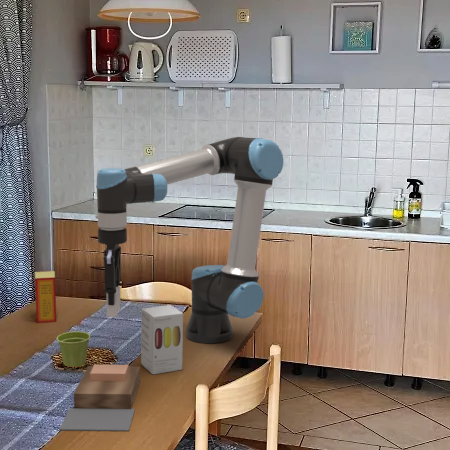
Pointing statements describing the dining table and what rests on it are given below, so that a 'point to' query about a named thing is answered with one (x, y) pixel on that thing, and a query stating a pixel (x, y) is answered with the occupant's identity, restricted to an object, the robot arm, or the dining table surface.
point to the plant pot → (73, 348)
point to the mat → (98, 419)
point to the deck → (107, 391)
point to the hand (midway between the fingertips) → (113, 312)
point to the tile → (109, 373)
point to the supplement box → (161, 339)
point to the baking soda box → (45, 296)
